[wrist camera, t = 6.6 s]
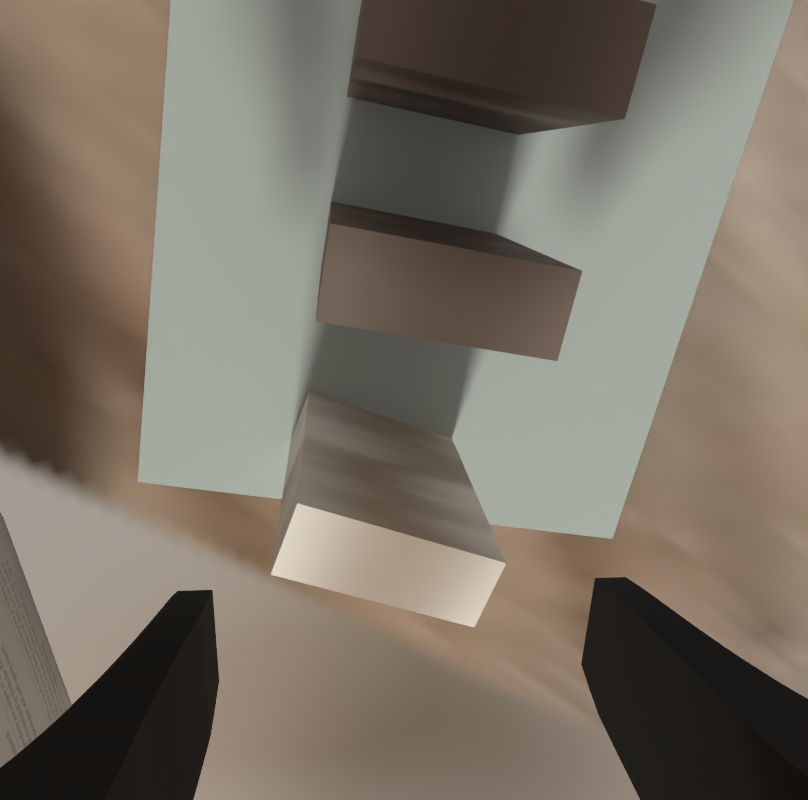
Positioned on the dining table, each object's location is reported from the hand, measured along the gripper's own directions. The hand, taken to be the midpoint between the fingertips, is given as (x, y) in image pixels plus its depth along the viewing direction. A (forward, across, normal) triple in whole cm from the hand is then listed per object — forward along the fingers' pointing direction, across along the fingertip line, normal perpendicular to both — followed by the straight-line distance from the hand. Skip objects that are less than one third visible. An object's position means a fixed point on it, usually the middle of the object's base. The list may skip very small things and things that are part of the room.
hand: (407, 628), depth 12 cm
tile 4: (+9, -1, -6) cm, 11 cm away
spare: (+9, 0, 0) cm, 9 cm away
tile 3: (+9, -2, -10) cm, 14 cm away
